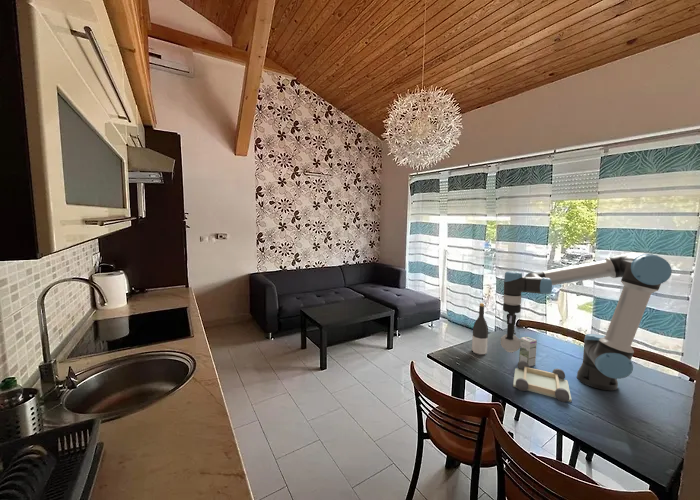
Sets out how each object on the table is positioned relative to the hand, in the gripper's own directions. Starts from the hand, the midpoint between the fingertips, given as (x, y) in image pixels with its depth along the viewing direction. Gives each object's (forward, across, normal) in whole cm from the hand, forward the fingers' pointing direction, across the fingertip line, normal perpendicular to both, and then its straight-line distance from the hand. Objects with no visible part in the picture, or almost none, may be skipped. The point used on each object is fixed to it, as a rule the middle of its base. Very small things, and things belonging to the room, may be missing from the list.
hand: (510, 349), depth 146 cm
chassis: (+14, -1, +13) cm, 20 cm away
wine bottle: (+14, -21, -17) cm, 30 cm away
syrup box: (+15, -21, +7) cm, 26 cm away
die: (+1, +2, 0) cm, 2 cm away
